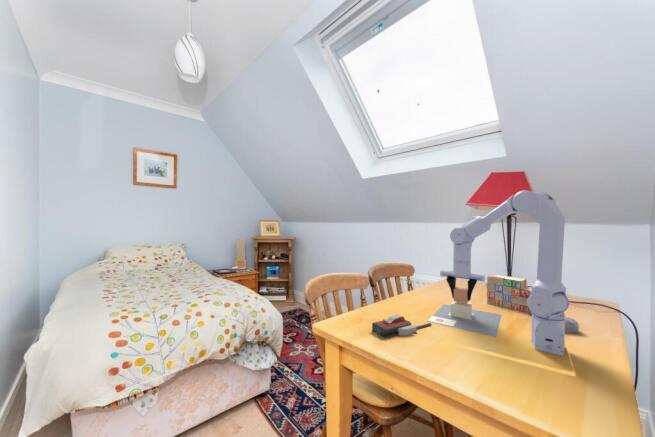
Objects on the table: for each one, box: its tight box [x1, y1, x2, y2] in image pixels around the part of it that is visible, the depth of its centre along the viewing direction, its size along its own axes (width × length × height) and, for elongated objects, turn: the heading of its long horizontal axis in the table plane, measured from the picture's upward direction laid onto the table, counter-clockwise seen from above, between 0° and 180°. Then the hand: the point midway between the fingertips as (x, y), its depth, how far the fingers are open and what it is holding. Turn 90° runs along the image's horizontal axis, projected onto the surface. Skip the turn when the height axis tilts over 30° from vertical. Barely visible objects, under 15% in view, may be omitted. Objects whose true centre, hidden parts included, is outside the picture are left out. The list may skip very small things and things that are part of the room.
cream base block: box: [450, 300, 473, 319], centre depth 101 cm, size 6×6×4 cm
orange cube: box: [453, 286, 469, 303], centre depth 101 cm, size 4×4×4 cm
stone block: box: [565, 316, 579, 334], centre depth 94 cm, size 12×5×10 cm
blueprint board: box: [426, 303, 503, 338], centre depth 97 cm, size 24×20×1 cm
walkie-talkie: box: [371, 314, 432, 339], centre depth 88 cm, size 9×4×20 cm
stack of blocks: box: [486, 274, 532, 316], centre depth 110 cm, size 21×6×12 cm, turn 36°
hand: (461, 298), depth 101 cm, fingers closed on orange cube, 4 cm apart
